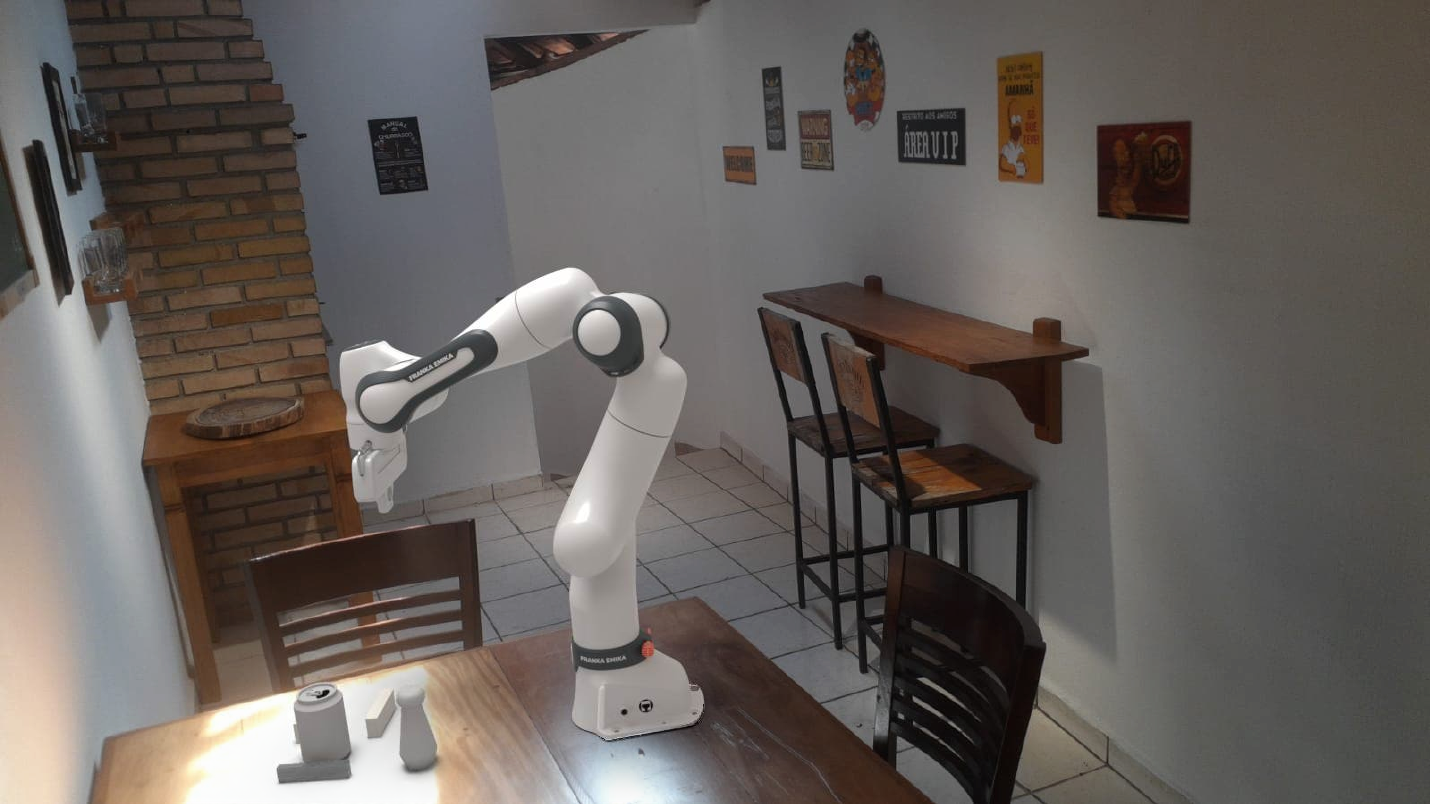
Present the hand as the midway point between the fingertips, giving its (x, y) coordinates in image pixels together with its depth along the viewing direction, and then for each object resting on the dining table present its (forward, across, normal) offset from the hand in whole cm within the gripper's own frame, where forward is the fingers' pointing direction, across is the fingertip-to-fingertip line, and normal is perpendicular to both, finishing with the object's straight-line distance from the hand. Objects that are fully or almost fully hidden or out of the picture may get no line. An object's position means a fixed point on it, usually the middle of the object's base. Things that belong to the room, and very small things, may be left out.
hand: (386, 510), depth 189 cm
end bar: (+34, -28, +8) cm, 45 cm away
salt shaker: (+34, -26, -8) cm, 44 cm away
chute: (+34, -12, +8) cm, 37 cm away
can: (+34, -22, +8) cm, 42 cm away
